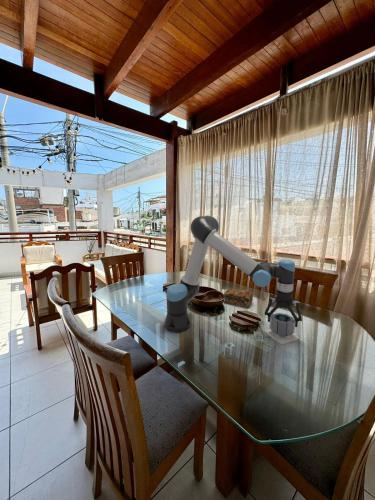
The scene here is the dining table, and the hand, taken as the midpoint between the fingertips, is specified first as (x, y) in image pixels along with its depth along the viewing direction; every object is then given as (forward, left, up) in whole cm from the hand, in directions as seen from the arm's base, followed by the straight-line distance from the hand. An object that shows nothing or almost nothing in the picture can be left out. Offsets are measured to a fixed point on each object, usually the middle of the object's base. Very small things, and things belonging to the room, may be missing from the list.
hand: (281, 329), depth 114 cm
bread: (+2, +43, -4) cm, 43 cm away
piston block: (0, 0, -3) cm, 3 cm away
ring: (0, 0, 0) cm, 0 cm away
